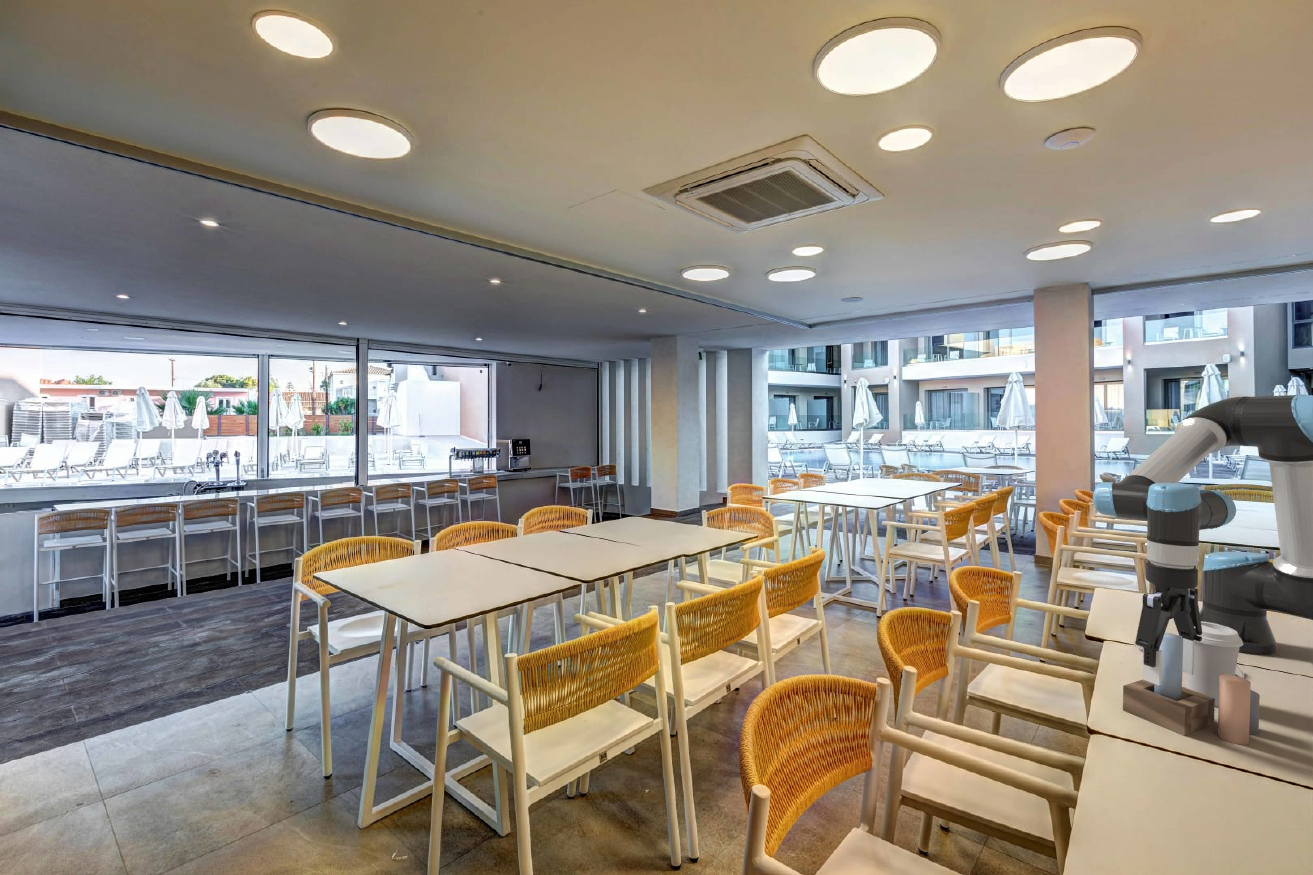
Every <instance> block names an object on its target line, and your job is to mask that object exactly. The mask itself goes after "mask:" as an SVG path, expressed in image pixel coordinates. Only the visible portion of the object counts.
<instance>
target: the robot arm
mask: <svg viewBox="0 0 1313 875" xmlns="http://www.w3.org/2000/svg"><path fill="white" fill-rule="evenodd" d="M1236 446H1238V447H1254V448H1255V447H1256V448H1257V453H1258V457H1259V458H1260V459H1261V460H1263V461H1265V462H1267V463H1269V464H1268V465H1269V472H1270V473H1269V474H1270V479H1271V487H1272V495H1273V496H1272V497H1273V504H1274V511H1275V519H1276V521H1275V522H1276V527H1277V533H1278V534H1277V536H1278V544H1279V551H1280V555H1278V556H1277V557H1275V558H1274V559H1273V561H1271V560H1270V557H1269V555H1267V554H1265V553H1264V554H1263V553H1260V552H1248V551H1217V552H1216V551H1213V552H1210V553H1208V554H1206V555H1205V557H1204V558H1203V560H1204V561H1203V567H1202V569H1201V570H1202V607H1201V610H1200V608H1199V600H1198V599H1199V598H1198V597H1199V589H1198V588H1197V587H1198V584H1199V569H1198V568H1197V567H1198V565H1199V563H1200V558H1199V557H1200V541H1199V540H1200V531H1201V530H1202V531H1203V530H1209V529H1210V530H1214V529H1218V528H1220V527H1223V526H1225V525H1228V524H1229V523H1231V522H1232V521H1233V520H1234V519H1235V516H1236V513H1237V507H1236V504H1235V502H1234V500H1233V499H1232V498H1231V497H1230V496H1228V494H1226V493H1223V492H1221V491H1220V490H1214V489H1200V488H1199V487H1198V486H1197V485H1193V484H1188V483H1187V484H1186V483H1179V482H1180V481H1181V480H1182V479H1184V478H1185V477H1186V476H1187V474H1189V473H1190V472H1191V471H1193V469H1195V467H1196V466H1197V465H1199V463H1201V462H1202V461H1203V460H1204V459H1205V458H1206V457H1207V456H1208V455H1209V454H1214V453H1217V452H1219V451H1221V450H1222V449H1223V448H1224V447H1236ZM1092 501H1093V505H1094V506H1093V507H1094V508H1095V510H1096V511H1097V512H1098V513H1099V514H1101V515H1104V516H1110V517H1115V518H1117V519H1119V518H1120V519H1129V520H1135V521H1144V522H1147V526H1146V528H1147V529H1146V531H1147V534H1146V542H1145V544H1144V546H1145V547H1146V559H1147V560H1148V561H1147V562H1146V563H1145V579H1146V581H1147V582H1149V583H1151V584H1152V585H1153V586H1154V588H1153V592H1152V594H1148V593H1143V594H1142V607H1141V613H1140V617H1139V623H1138V628H1137V631H1136V632H1137V633H1136V636H1135V643H1136V645H1139V646H1141V647H1143V650H1142V651H1143V652H1142V680H1146V681H1148V682H1151V683H1154V684H1157V685H1162V651H1161V650H1159V648H1160V645H1161V643H1162V640H1163V637H1164V634H1165V633H1166V631H1167V628H1168V624H1169V621H1170V620H1172V619H1173V622H1174V624H1175V628H1176V631H1177V633H1178V636H1181V637H1182V638H1183V668H1182V673H1184V674H1185V673H1188V674H1191V675H1193V674H1194V652H1195V641H1199V642H1201V640H1202V637H1201V635H1202V626H1201V621H1202V622H1209V623H1214V624H1219V625H1223V626H1226V627H1229V628H1232V629H1234V630H1235V631H1237V632H1238V635H1239V637H1240V638H1241V640H1242V642H1243V646H1240V648H1239V653H1246V654H1257V655H1267V654H1268V655H1269V654H1273V653H1275V652H1276V650H1277V641H1276V638H1275V636H1274V632H1273V631H1272V629H1271V626H1270V623H1269V620H1268V619H1267V618H1268V616H1267V613H1268V611H1271V612H1276V613H1279V614H1285V615H1289V616H1294V617H1299V618H1303V619H1306V620H1312V621H1313V395H1312V394H1309V395H1308V394H1288V395H1266V396H1265V395H1259V396H1258V395H1256V396H1253V395H1252V396H1233V397H1229V398H1225V399H1221V400H1218V401H1216V402H1215V401H1214V402H1212V403H1209V404H1208V405H1205V406H1203V407H1201V408H1200V409H1197V410H1195V411H1194V412H1192V413H1190V414H1189V415H1187V416H1186V417H1185V418H1183V419H1182V420H1181V421H1180V422H1179V423H1177V425H1176V426H1175V429H1174V433H1173V435H1171V436H1170V437H1169V438H1168V439H1167V440H1166V441H1164V442H1163V443H1162V444H1161V445H1160V446H1159V447H1158V448H1156V449H1155V451H1153V452H1152V453H1151V454H1149V456H1148V457H1147V458H1145V459H1144V460H1143V461H1142V462H1141V463H1140V464H1139V465H1137V466H1136V467H1135V468H1134V469H1133V470H1132V471H1131V472H1130V473H1129V474H1128V475H1126V476H1125V477H1124V478H1123V479H1122V480H1121V481H1119V482H1115V481H1111V482H1108V481H1105V482H1101V483H1099V484H1097V486H1096V487H1095V489H1094V491H1093V495H1092ZM1194 627H1195V628H1194ZM1197 635H1200V636H1197ZM1194 640H1195V641H1194Z"/></svg>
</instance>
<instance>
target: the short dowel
mask: <svg viewBox="0 0 1313 875" xmlns="http://www.w3.org/2000/svg"><path fill="white" fill-rule="evenodd" d="M1260 699H1261V698H1260V694H1259V693H1258V692H1256V691H1254V690H1251V689H1250V722H1249V735H1258V734H1259V733H1260V732H1259V730H1260V728H1259V726H1260Z"/></svg>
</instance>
